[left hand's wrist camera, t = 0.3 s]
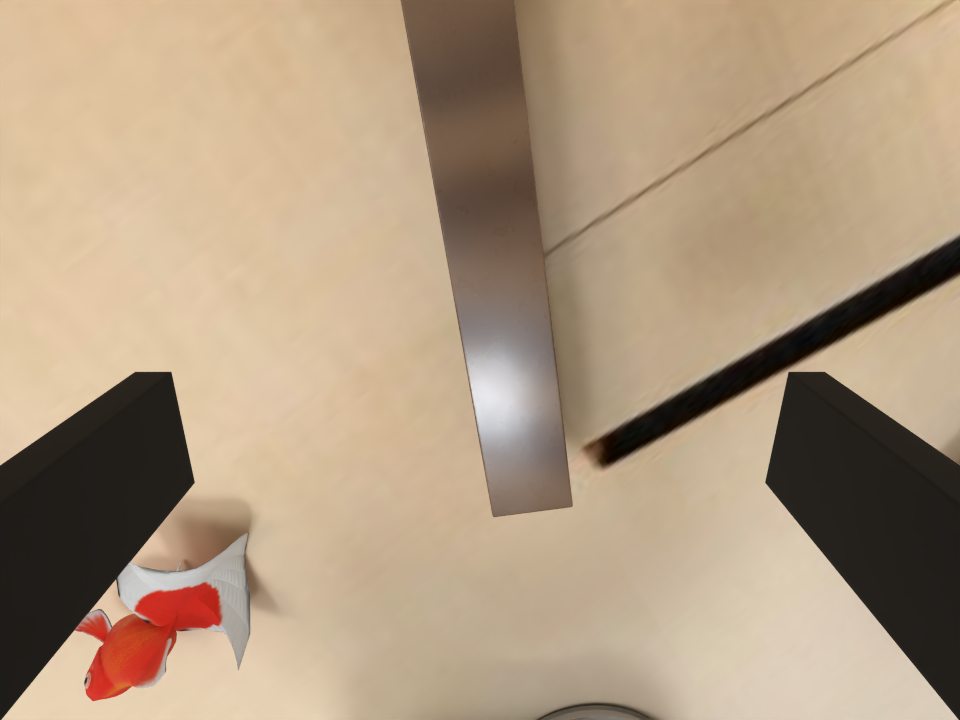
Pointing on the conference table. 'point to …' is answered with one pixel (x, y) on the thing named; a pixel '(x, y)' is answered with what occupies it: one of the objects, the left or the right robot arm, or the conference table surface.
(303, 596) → the conference table surface
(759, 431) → the conference table surface
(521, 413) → the post
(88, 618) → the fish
